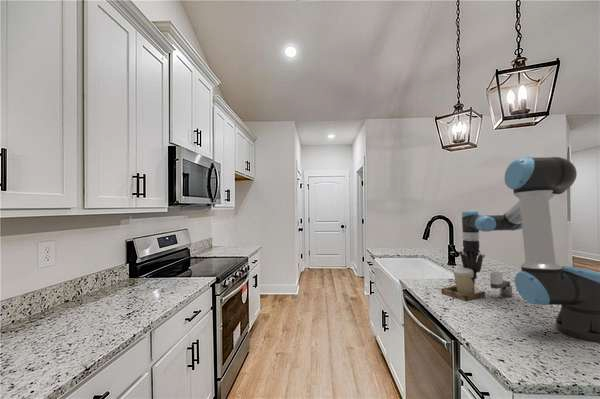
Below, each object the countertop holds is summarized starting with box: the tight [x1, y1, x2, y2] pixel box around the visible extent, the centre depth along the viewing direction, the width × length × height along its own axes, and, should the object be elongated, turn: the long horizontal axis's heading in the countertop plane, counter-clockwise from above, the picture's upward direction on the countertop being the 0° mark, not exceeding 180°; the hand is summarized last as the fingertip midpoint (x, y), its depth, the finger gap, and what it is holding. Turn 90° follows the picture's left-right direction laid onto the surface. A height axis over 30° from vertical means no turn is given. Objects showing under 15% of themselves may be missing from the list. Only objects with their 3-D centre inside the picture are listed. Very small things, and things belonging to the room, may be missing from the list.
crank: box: [489, 271, 511, 290], centre depth 145 cm, size 12×4×7 cm, turn 115°
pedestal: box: [499, 285, 513, 298], centre depth 146 cm, size 5×5×5 cm
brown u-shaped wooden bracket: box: [441, 285, 486, 302], centre depth 149 cm, size 14×14×2 cm
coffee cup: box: [452, 267, 476, 295], centre depth 150 cm, size 9×9×12 cm
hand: (472, 284), depth 153 cm, fingers closed
